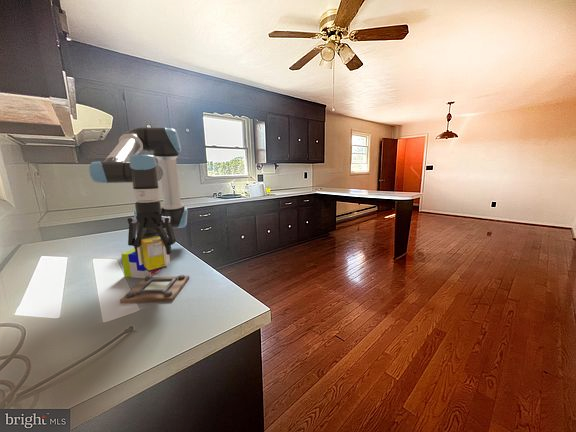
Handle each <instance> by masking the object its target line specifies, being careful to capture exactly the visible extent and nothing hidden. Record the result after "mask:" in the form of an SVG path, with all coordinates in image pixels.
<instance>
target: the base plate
mask: <svg viewBox="0 0 576 432" xmlns="http://www.w3.org/2000/svg"><path fill="white" fill-rule="evenodd" d="M189 279H190V275H185V274H181V275H169V276H168V275H167V276H152V275H151V276H147V277H145V278H142V280H141V281H140V282H138V283H137V284H136V285H135V286H134V287H133V288H131V290H129V291H128V292H127V293H126V294H125V295H124V296H123V297H121V298H120V299H119V304H132V303H134V304H135V303H156V302H157V303H159V302H161V303H162V302H163V303H164V302H173V301H174V300H175V299H176V297H177V296H178V294H179V293H180V292H181V290H182V289H183V288H184V286H185V285H186V284H187V283H188V281H189Z"/></svg>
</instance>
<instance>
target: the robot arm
mask: <svg viewBox="0 0 576 432" xmlns="http://www.w3.org/2000/svg"><path fill="white" fill-rule="evenodd" d="M142 152H146V153H148V152H149V153H152V154H153V155H151V154H140V153H142ZM181 152H182V144H181V141H180V137H179V134H178V132H177V130H176V129H174V128H168V127H153V126H152V127H150V126H149V127H146V126H140V127H135V128H132V129H129V130H128V131H126V132H124V133H123V134H122V135H121V136H120V137H119V139H118V143H117V144H116V146H115V147H114V149H112V151H111V152H110V153H109V154H108V155H107V157H106V158H105V159H104V161H100V160H99V161H92V162H90V164H89V166H88V167H89V168H88V170H89V171H88V172H89V176H90V178H91V180H92V181H93V182H94V183H97V184H121V183H122V184H124V183H129V184H130V183H131V184H132V190H133V196H134V201H136V202H135V203H134V205H135V206H134V207H135V210H134V211H133V216H131V217H129V218H127V223H128V235H127V236H128V240H127V245H128V246H129V247H133V249H135V254H136V256H137V255H138V259H139V265H142V264H144V261H143V253H142V245H141V239H145V238H151V237H156V236H159V237H160V238H161V239H162V241H163V243H164V247H163V253H164V262H165V264H166V265H168V264H169V263H170V262H171V260H170V259H171V258H170V254H171V255H172V245H175V243H176V242H177V238H176V236H175V233H174V230H173V229H181V228H186V226H187V223H188V222H187V221H188V207H186V206H185V204H184V203H183V202H182V200H181V192H180V184H179V174H178V166H177V158H178V157H179V153H181ZM156 159H157V160H156ZM159 181H160V185H161V191H162V192H161V193H162V198H163V199H162V200H163V204H161V201H160V198H161V197H160V190H159Z"/></svg>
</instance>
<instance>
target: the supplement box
mask: <svg viewBox="0 0 576 432" xmlns="http://www.w3.org/2000/svg"><path fill="white" fill-rule="evenodd" d="M141 245H142V253H143V261H144V268H145V269H146V270H147V271H148V272H152V271H155V270H159V269H161V270H163V269H165V268H166V269H167V264H165V262H164V253H163V247H164V243H163V241H162V239H161V238H160V237H159V236H156V237H151V238H145V239H141ZM159 271H160V270H159Z"/></svg>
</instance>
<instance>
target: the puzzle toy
mask: <svg viewBox="0 0 576 432" xmlns="http://www.w3.org/2000/svg"><path fill="white" fill-rule="evenodd" d="M121 261H122V268H123V275H124V277H127V278H134V279H136V278H137V279H144V278H145V277H147V276H152V275H154V274H156V273H157V272H159V271H161V270H162V269H159V270H155V271H152V272H148V271H147V270H146V269H145V268H144V264H142V265H139V259H138V255H137V256H136V254H135V248H133V249H130V250H127V251H125V252H122V253H121Z"/></svg>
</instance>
